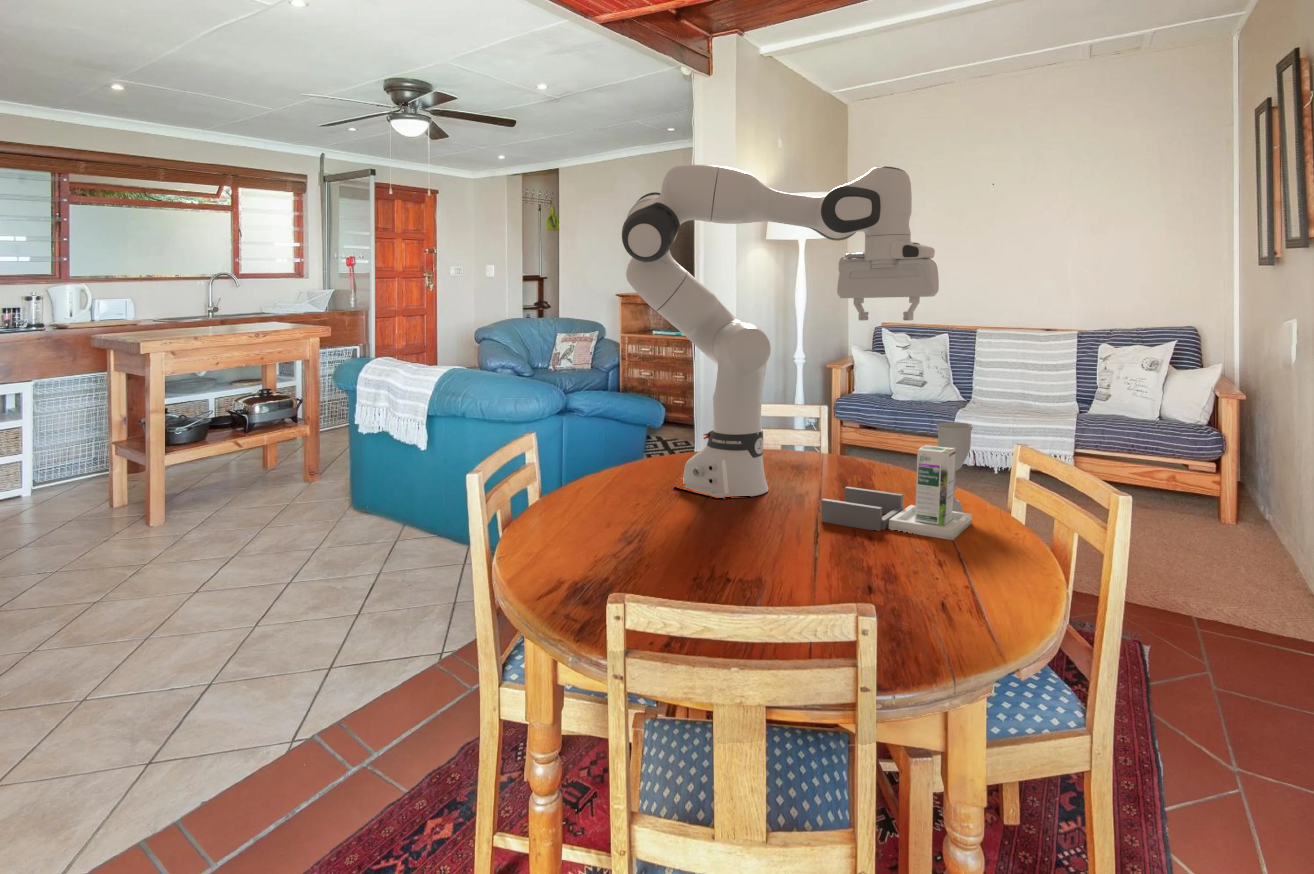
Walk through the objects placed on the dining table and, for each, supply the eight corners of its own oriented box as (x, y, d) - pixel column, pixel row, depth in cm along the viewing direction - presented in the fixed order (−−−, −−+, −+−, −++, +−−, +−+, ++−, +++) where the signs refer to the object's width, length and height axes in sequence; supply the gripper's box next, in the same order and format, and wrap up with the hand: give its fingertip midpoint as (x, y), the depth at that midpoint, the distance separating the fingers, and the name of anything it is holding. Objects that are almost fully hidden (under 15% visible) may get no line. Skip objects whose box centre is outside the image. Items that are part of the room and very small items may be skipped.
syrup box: (913, 522, 148) (916, 449, 146) (923, 514, 153) (926, 443, 150) (943, 526, 145) (947, 452, 142) (953, 519, 149) (956, 446, 147)
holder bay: (821, 521, 153) (821, 499, 152) (846, 507, 162) (847, 486, 162) (881, 532, 145) (882, 509, 144) (904, 516, 155) (905, 494, 154)
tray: (888, 529, 147) (888, 519, 146) (910, 514, 156) (910, 504, 156) (952, 540, 140) (953, 529, 139) (971, 523, 149) (971, 513, 148)
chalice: (961, 505, 161) (965, 421, 158) (975, 514, 154) (980, 427, 151) (927, 507, 161) (930, 423, 158) (940, 516, 154) (944, 428, 151)
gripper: (832, 253, 158) (831, 321, 160) (932, 247, 146) (929, 321, 148) (845, 254, 163) (844, 319, 165) (942, 248, 150) (940, 319, 153)
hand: (885, 320), depth 157 cm, fingers open, 8 cm apart
